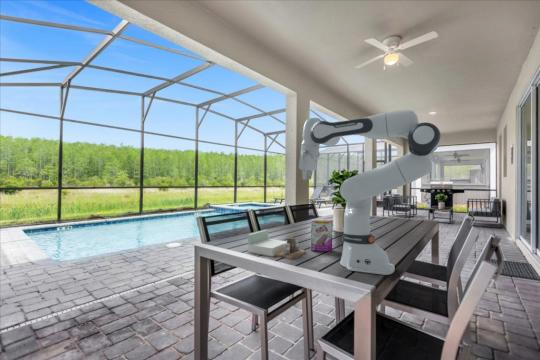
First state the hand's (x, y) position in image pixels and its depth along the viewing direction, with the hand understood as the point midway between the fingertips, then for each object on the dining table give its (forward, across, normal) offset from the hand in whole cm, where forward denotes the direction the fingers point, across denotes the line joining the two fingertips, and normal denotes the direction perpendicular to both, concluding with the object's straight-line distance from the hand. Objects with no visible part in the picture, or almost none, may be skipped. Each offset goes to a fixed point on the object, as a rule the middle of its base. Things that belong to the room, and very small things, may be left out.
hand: (306, 179), depth 131 cm
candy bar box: (+38, +13, -9) cm, 41 cm away
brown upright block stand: (+39, -1, +4) cm, 39 cm away
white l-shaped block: (+40, +1, +17) cm, 43 cm away
